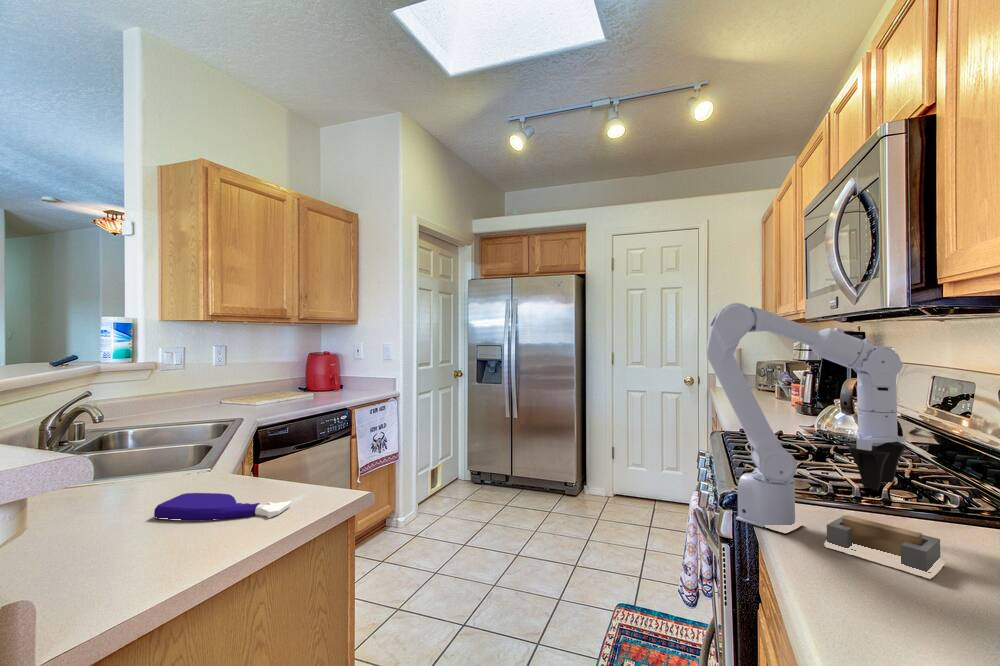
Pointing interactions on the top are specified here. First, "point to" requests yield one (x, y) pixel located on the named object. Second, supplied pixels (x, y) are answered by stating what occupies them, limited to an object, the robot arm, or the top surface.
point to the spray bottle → (214, 507)
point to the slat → (880, 535)
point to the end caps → (910, 553)
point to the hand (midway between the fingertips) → (878, 484)
